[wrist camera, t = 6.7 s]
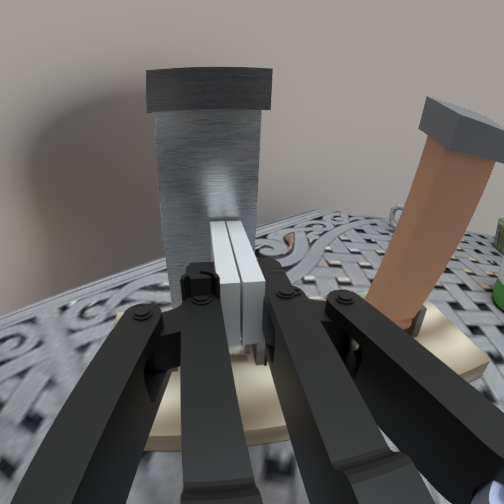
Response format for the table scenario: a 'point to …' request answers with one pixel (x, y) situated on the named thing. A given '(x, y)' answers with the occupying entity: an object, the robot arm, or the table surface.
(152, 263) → the table surface
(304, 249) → the table surface
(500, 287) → the wine bottle
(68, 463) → the robot arm
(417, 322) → the switch panel
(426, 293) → the terracotta lever
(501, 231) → the olive plank with panel
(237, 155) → the grey lever
